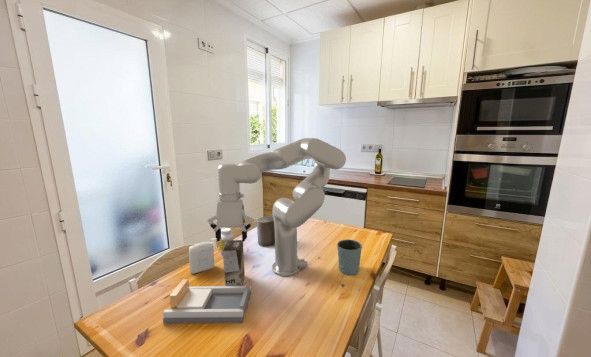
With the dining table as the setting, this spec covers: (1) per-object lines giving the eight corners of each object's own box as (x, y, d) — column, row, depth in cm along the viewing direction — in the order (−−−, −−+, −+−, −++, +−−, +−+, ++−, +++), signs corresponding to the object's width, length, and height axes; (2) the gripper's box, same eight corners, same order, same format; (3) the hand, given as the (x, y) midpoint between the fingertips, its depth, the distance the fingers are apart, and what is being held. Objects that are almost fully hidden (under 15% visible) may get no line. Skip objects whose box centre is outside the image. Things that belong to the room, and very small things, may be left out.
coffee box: (242, 289, 91) (239, 250, 89) (225, 290, 91) (222, 250, 88) (245, 275, 100) (243, 239, 98) (229, 276, 100) (227, 240, 97)
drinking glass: (362, 267, 106) (363, 241, 104) (358, 279, 97) (359, 251, 95) (340, 262, 110) (340, 237, 108) (334, 273, 101) (334, 247, 99)
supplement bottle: (220, 252, 121) (218, 228, 119) (233, 249, 124) (231, 226, 121) (221, 258, 115) (219, 233, 113) (235, 255, 118) (234, 230, 115)
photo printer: (213, 263, 110) (211, 238, 108) (216, 267, 107) (214, 241, 104) (189, 270, 105) (186, 244, 102) (191, 275, 101) (188, 248, 99)
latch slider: (212, 293, 86) (210, 278, 85) (202, 312, 77) (200, 295, 76) (184, 294, 86) (182, 279, 85) (171, 312, 77) (169, 295, 76)
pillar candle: (279, 241, 132) (278, 215, 130) (267, 248, 124) (266, 220, 122) (265, 238, 138) (264, 213, 135) (253, 244, 130) (252, 217, 127)
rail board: (251, 293, 89) (250, 282, 88) (242, 322, 75) (241, 309, 74) (183, 294, 89) (182, 283, 88) (163, 323, 75) (161, 310, 74)
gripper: (254, 194, 93) (255, 236, 96) (210, 194, 93) (212, 236, 96) (251, 199, 86) (252, 244, 89) (202, 199, 86) (205, 244, 89)
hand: (231, 240), depth 92 cm, fingers open, 9 cm apart
